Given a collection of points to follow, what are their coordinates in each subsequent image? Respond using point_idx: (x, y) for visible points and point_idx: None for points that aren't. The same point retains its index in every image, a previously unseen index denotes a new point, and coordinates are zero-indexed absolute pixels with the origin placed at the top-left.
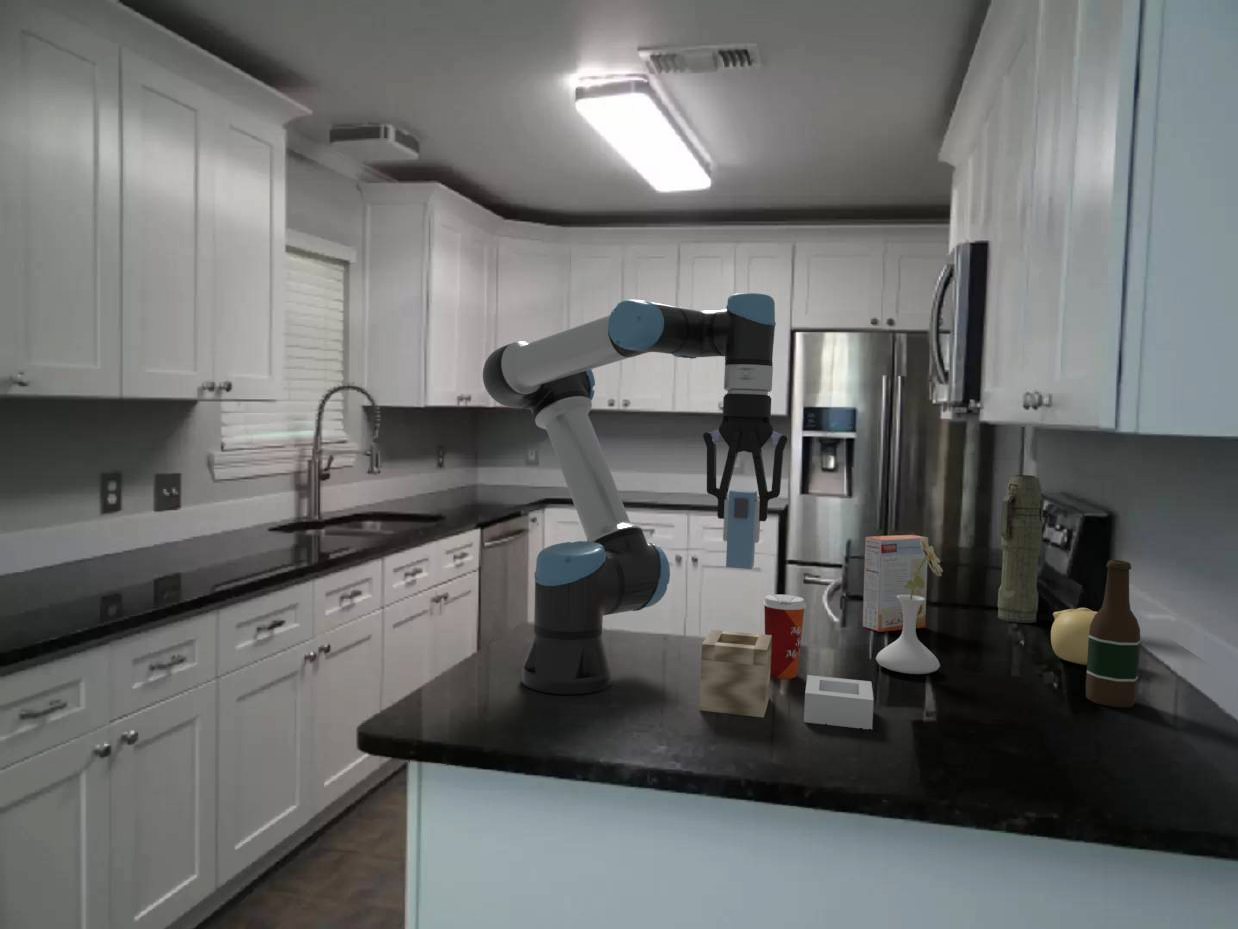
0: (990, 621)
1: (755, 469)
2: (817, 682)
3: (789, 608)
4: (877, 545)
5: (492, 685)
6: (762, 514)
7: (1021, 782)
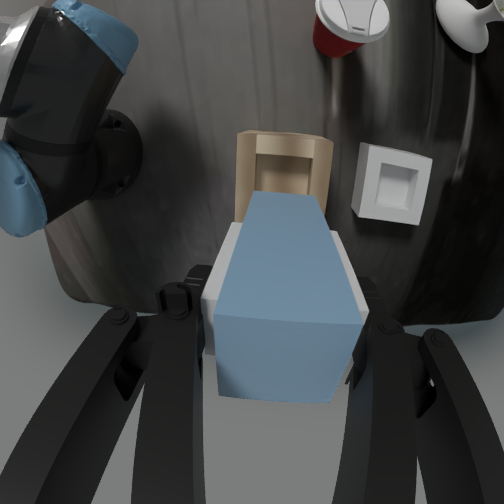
0: None
1: (338, 486)
2: (377, 174)
3: (365, 41)
4: None
5: None
6: None
7: (457, 289)
